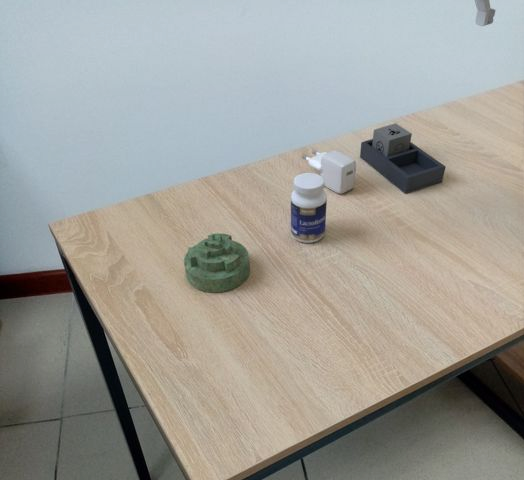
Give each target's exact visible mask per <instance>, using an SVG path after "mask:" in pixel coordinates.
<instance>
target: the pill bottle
mask: <svg viewBox="0 0 524 480" xmlns="http://www.w3.org/2000/svg"><path fill="white" fill-rule="evenodd" d="M293 189H294V190H293V191H292V193H291V195H290V235H291V237H292V238H293V239H294V240H296V241H298V242H300V243H305V244H311V243H315V242H318V241H320V240H321V239H323V237H324V236H325V233H326V221H327V204H328V203H327V202H328V196H327V193H326V191H325V190H324V189H325V186H324V179H323V177H322V176H320V174H318V173H315V172H304V173H300V174H297V176H295V177H294V178H293Z"/></svg>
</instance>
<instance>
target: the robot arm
mask: <svg viewBox="0 0 524 480" xmlns="http://www.w3.org/2000/svg"><path fill="white" fill-rule="evenodd" d="M474 2H475V6H476V7H475V8H476V9H477V10H476V16H475V24H476V25H477V26H479V27H485V26H489V25H492V24H493V23H494V18H495V16H496V15H495V14H496V9H494V8H492V7H491V3H490V0H474Z"/></svg>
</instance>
